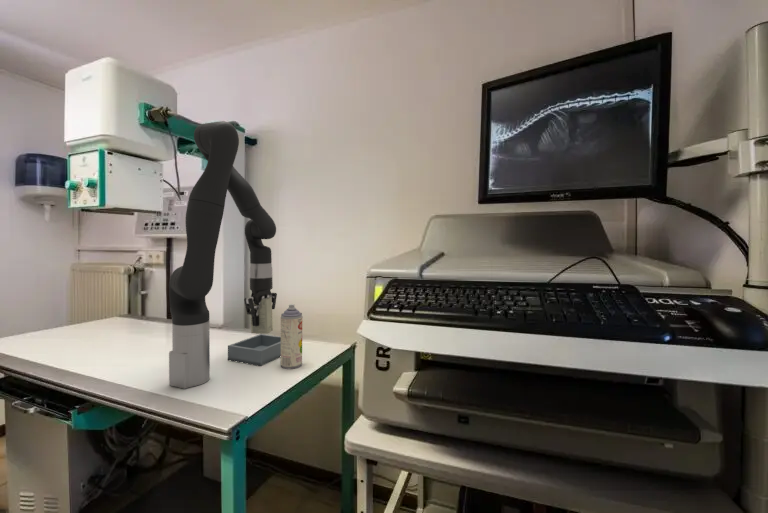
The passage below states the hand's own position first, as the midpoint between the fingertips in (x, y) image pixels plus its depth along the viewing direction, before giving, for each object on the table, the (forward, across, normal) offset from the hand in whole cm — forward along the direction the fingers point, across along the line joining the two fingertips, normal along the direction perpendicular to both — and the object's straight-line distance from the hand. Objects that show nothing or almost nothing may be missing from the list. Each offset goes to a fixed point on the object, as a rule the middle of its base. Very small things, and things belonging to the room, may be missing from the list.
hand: (261, 323), depth 118 cm
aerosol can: (+12, -3, -15) cm, 19 cm away
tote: (+11, 0, 0) cm, 11 cm away
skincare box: (+3, 0, 0) cm, 3 cm away
